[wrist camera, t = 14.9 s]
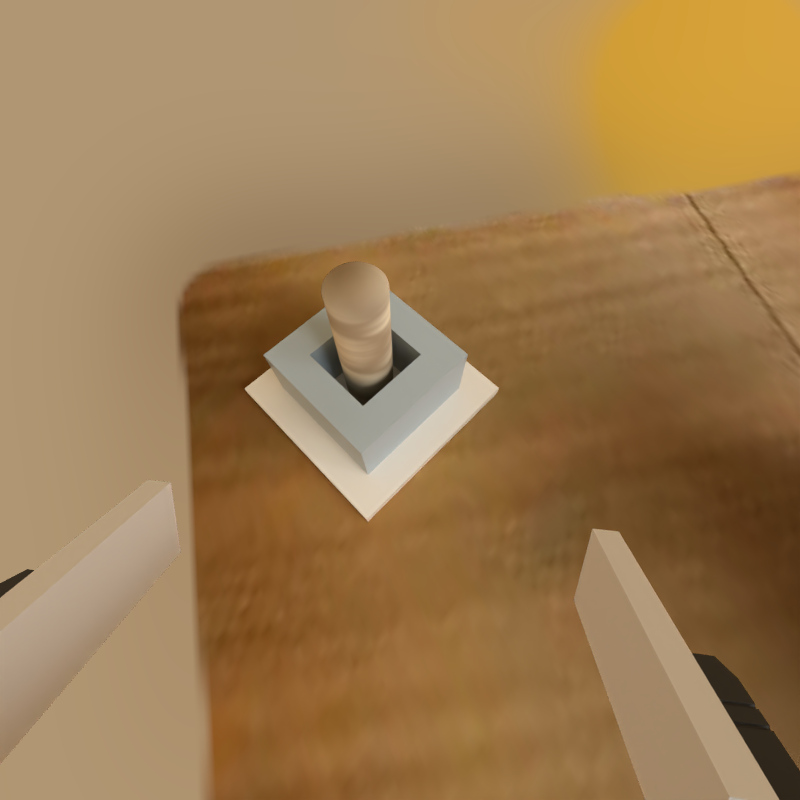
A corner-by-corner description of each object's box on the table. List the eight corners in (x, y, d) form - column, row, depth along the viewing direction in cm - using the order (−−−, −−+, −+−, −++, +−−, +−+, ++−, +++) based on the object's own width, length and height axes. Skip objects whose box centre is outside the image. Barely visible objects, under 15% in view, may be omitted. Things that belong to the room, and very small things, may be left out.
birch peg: (372, 360, 39) (357, 250, 27) (403, 389, 38) (403, 288, 25) (339, 389, 38) (307, 288, 25) (370, 418, 37) (353, 329, 24)
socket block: (375, 293, 44) (369, 240, 37) (496, 393, 39) (514, 354, 33) (248, 394, 40) (217, 355, 33) (367, 521, 35) (358, 505, 28)
